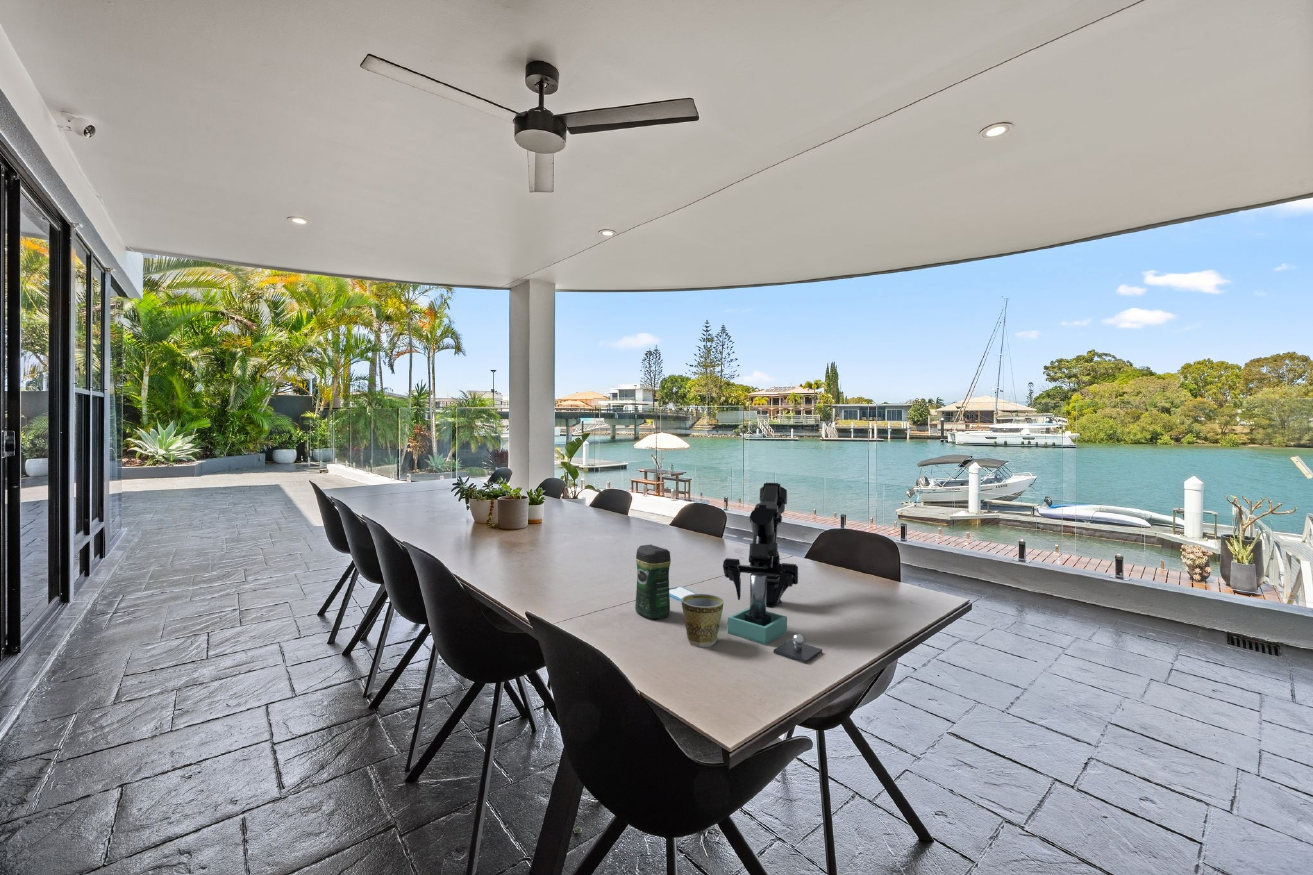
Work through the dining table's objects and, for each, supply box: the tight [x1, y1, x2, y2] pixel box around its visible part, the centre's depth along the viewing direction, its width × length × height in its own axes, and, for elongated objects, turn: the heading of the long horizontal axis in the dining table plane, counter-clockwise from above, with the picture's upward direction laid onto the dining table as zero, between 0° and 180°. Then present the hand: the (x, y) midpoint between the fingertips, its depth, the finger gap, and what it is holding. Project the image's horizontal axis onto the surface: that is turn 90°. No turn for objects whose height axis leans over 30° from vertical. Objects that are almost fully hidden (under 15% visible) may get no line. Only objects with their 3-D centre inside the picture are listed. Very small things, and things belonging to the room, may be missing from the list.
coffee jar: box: [634, 544, 672, 619], centre depth 147 cm, size 10×8×19 cm
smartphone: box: [669, 586, 698, 603], centre depth 162 cm, size 8×1×15 cm
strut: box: [745, 573, 771, 626], centre depth 135 cm, size 5×5×14 cm
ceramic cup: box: [681, 593, 724, 648], centre depth 130 cm, size 13×10×10 cm
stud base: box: [773, 633, 823, 665], centre depth 123 cm, size 8×8×4 cm
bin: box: [727, 606, 788, 646], centre depth 135 cm, size 11×11×4 cm
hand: (757, 601), depth 133 cm, fingers open, 9 cm apart
